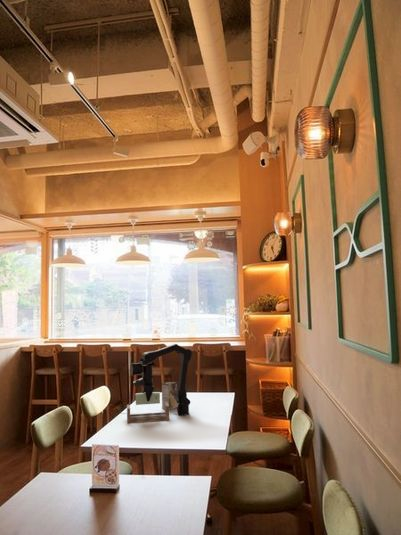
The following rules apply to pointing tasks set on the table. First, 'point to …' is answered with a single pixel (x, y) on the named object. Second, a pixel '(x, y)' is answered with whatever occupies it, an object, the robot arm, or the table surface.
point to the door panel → (142, 398)
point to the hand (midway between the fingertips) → (147, 400)
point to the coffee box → (169, 394)
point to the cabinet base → (148, 416)
